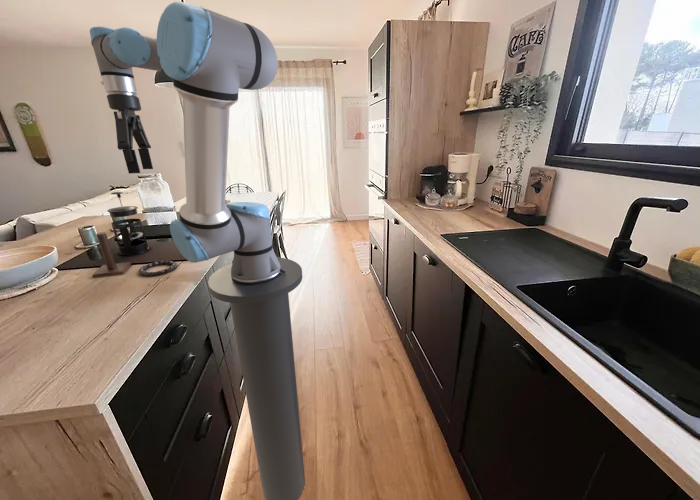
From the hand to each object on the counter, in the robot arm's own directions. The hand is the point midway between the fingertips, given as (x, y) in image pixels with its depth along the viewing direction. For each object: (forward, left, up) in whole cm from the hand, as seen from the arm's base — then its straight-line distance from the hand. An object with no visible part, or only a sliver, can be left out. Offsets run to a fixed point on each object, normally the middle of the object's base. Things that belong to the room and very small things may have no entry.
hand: (141, 171), depth 90 cm
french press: (+14, -16, -32) cm, 38 cm away
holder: (+15, +2, -31) cm, 35 cm away
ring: (+1, +6, -31) cm, 31 cm away
